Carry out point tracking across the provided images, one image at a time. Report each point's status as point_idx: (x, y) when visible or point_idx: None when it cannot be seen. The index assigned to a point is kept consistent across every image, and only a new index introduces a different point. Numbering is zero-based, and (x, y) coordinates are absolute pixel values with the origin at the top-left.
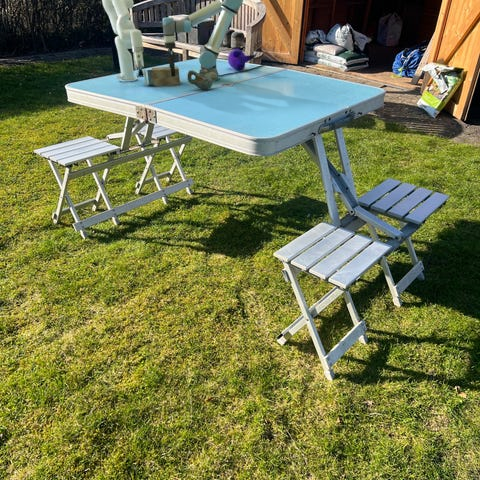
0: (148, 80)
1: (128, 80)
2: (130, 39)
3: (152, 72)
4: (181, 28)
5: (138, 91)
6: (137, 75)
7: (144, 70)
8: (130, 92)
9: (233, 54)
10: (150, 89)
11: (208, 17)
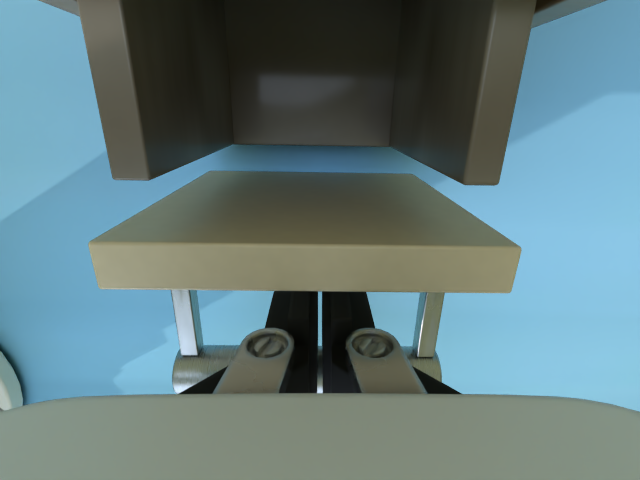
0: (229, 145)
1: (8, 388)
2: None
3: (522, 9)
4: None
5: (626, 292)
6: None
7: (226, 271)
8: (621, 367)
9: None
10: (603, 140)
11: None
